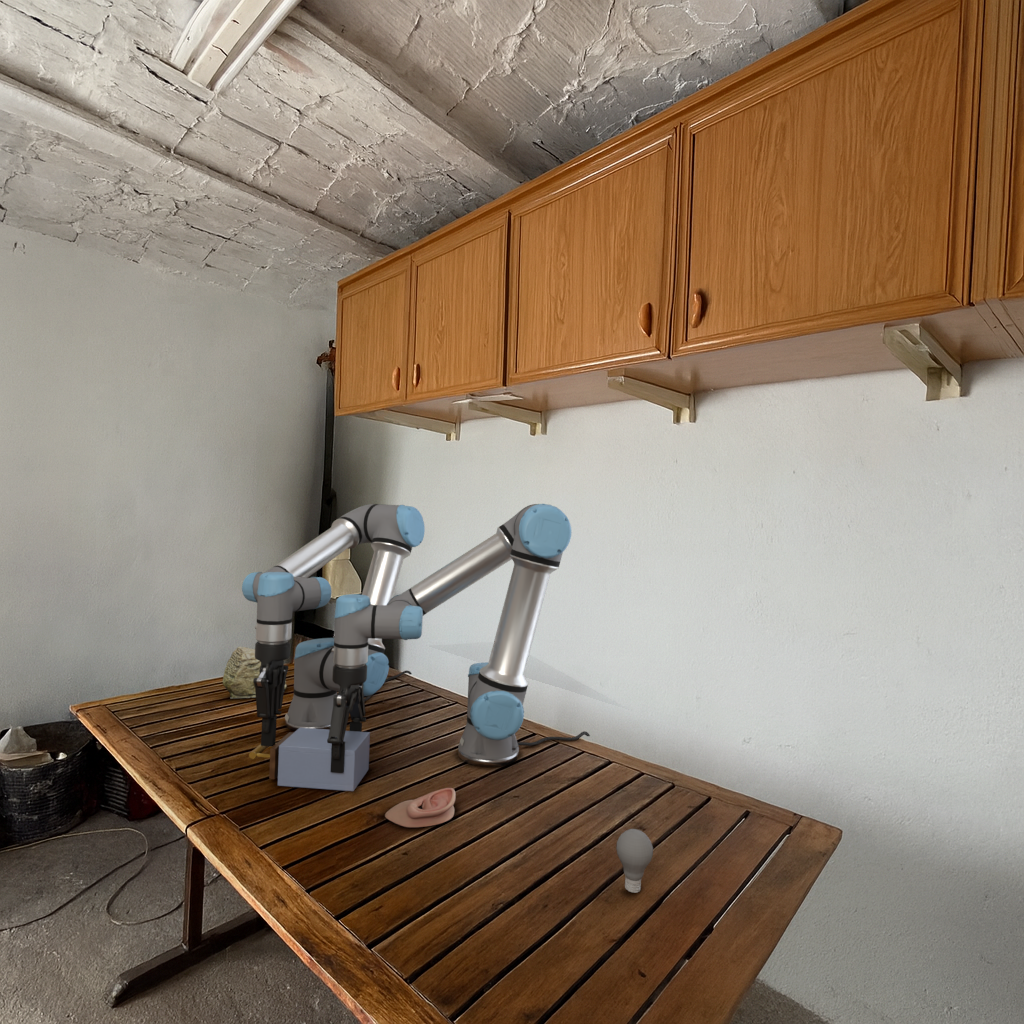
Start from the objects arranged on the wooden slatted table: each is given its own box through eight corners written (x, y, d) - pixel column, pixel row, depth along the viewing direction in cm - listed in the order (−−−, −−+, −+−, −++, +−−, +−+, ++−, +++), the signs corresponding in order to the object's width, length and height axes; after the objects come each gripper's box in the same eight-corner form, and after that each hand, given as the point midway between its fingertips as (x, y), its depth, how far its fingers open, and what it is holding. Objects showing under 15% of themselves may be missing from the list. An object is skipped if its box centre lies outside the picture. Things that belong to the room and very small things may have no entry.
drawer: (245, 777, 139) (246, 746, 139) (266, 758, 149) (267, 730, 149) (338, 784, 138) (339, 753, 138) (352, 765, 148) (354, 736, 148)
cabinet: (277, 785, 138) (278, 745, 138) (298, 764, 149) (299, 727, 149) (353, 791, 137) (354, 751, 137) (368, 769, 148) (370, 732, 148)
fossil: (218, 695, 195) (220, 647, 195) (278, 685, 208) (279, 640, 207) (228, 703, 189) (230, 653, 188) (289, 692, 201) (290, 645, 201)
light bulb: (610, 879, 108) (613, 822, 108) (644, 879, 109) (647, 822, 109) (619, 902, 102) (622, 840, 102) (655, 901, 103) (658, 840, 103)
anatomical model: (379, 803, 124) (401, 778, 135) (378, 823, 124) (400, 796, 135) (444, 812, 121) (461, 786, 132) (443, 833, 121) (460, 805, 132)
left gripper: (270, 634, 150) (265, 733, 150) (243, 645, 137) (237, 754, 137) (300, 636, 150) (295, 735, 150) (276, 648, 137) (271, 757, 137)
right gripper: (350, 650, 154) (347, 739, 155) (313, 677, 131) (309, 782, 131) (381, 652, 154) (377, 742, 154) (349, 679, 130) (345, 785, 131)
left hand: (268, 744), depth 143 cm, fingers closed
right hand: (346, 760), depth 143 cm, fingers closed on cabinet, 11 cm apart
